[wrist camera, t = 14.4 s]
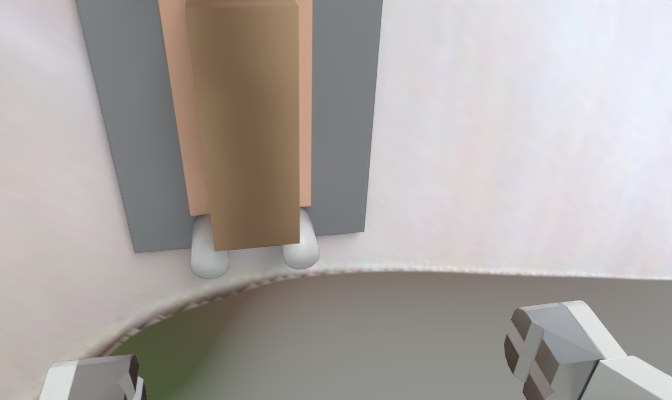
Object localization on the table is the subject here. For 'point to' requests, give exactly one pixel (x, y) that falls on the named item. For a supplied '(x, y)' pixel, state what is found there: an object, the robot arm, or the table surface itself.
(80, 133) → the table surface
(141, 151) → the cradle
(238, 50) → the block
